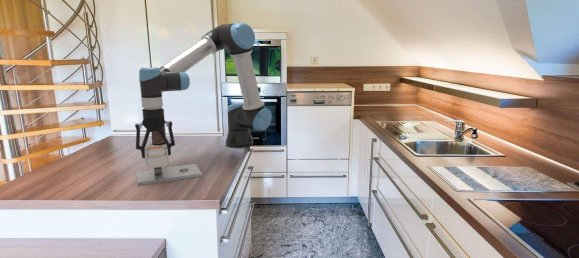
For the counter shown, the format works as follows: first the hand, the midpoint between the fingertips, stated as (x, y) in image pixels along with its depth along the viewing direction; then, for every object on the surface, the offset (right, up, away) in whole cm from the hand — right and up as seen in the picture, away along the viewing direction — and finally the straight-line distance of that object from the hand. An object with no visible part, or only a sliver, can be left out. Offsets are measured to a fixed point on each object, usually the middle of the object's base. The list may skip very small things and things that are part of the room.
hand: (157, 164), depth 132 cm
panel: (+4, -5, +3) cm, 7 cm away
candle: (-20, +6, +53) cm, 57 cm away
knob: (0, 0, 0) cm, 0 cm away
